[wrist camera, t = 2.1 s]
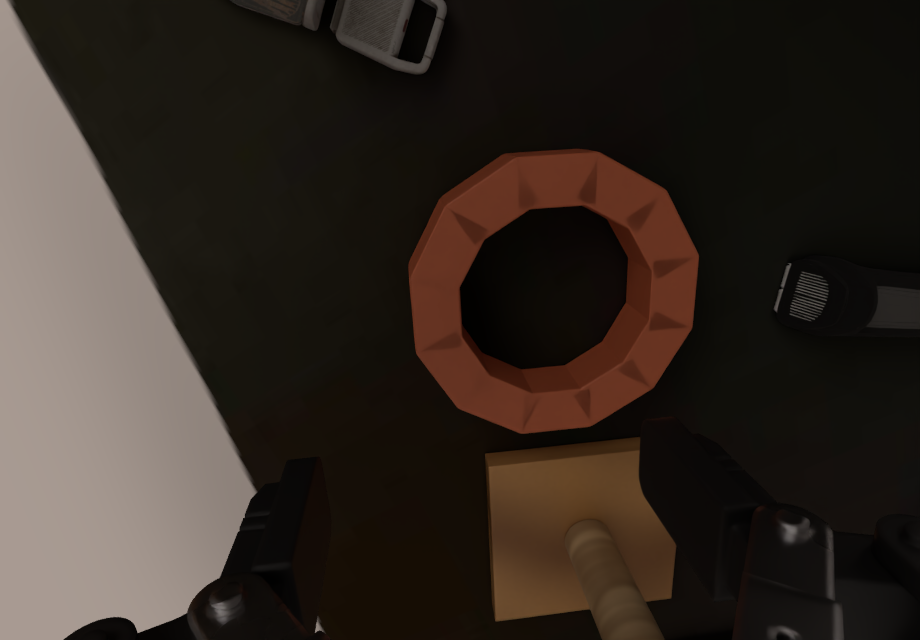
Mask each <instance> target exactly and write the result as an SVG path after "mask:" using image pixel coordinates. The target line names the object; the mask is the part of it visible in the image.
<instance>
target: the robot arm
mask: <svg viewBox="0 0 920 640" xmlns="http://www.w3.org/2000/svg"><path fill="white" fill-rule="evenodd" d="M639 482H640V486H641V490H642V493H643V495H644V497H645V499H646V500H647V502H648V503H649V505H650V506H651V508H652V509H653V511H654V512H655V514H656V515H657V517H658V518H659V520H660V521H661V523H662V524H663V526H664V527H665V529H666V530H667V532H668V533H669V535H670V536H671V538H672V539H673V541H674V542H675V544H676V545H677V547H678V548H679V550H680V551H681V553H682V554H683V556H684V557H685V559H686V560H687V562H688V563H689V565H690V566H691V568H692V569H693V571H694V572H695V574H696V575H697V577H698V578H699V580H700V581H701V583H702V584H703V586H704V587H705V589H706V590H707V592H708V593H709V595H710V596H711V598H712V599H713V601H714V602H719V601H726V600H733V599H736V601H737V602H738V604H737V610H736V616H735V622H734V629H733V635H732V640H920V518H919V517H915V516H910V515H902V514H893V515H887V516H884V517H882V518H880V519H879V520H878V522H877V524H876V529H875V533H874V535H864V534H855V533H845V532H836V531H831V529H830V527H829V526H828V525H827V524H826V523H825V522H824V521H823V520H822V519H821V518H820V517H818V516H817V515H815V514H813V513H812V512H810V511H808V510H805V509H803V508H800V507H797V506H794V505H789V504H782V503H777V502H776V501H775V500H774V499H773V498H772V497H771V496H770V495H769V494H768V493H767V492H766V491H765V490H764V489H763V488H762V487H761V486H760V485H759V484H758V483H757V482H756V481H755V480H754V479H753V478H752V477H751V476H750V475H749V474H748V473H747V472H746V471H745V470H742V467H741V466H740V465H739V464H738V463H737V462H736V461H735V460H734V459H731V456H730V455H729V454H728V453H727V452H726V451H725V450H724V449H723V448H722V447H721V446H719V445H718V444H717V443H715V442H713V441H711V440H710V439H708V438H706V437H704V436H702V435H700V434H691V433H690V432H689V431H688V429H687V428H686V427H685V426H684V425H683V424H682V423H681V422H680V421H679V420H678V419H677V418H675V417H665V418H657V419H648V420H644V421H643V422H642V425H641V433H640V453H639ZM330 537H331V514H330V507H329V501H328V496H327V490H326V484H325V479H324V473H323V467H322V462H321V459H320V457H311V458H302V459H294V460H288V461H287V462H286V465H285V468H284V471H283V474H282V477H281V480H280V482H278V483H270V484H265V485H264V486H263V487H262V488H261V489H260V490H259V491H258V492H257V493H256V494H255V495H254V497H253V498H252V499H251V500H250V503H249V505H248V508H247V511H246V513H245V518H243V521H242V523H241V526H240V531H239V532H238V533H237V536H236V539H235V541H234V544H233V546H232V549H231V551H230V554H229V556H228V559H227V561H226V564H225V566H224V569H223V571H222V574H221V576H220V578H219V579H217V580H215V581H213V582H212V583H210V584H208V585H207V586H206V587H204V588H203V589H202V590H201V591H200V592H199V593H198V594H197V595H196V596H195V598H194V599H193V600H192V602H191V604H190V606H189V608H188V612H187V613H186V614H185V615H183V616H181V617H179V618H176V619H174V620H172V621H169V622H166V623H164V624H161V625H159V626H156V627H153V628H151V629H148V630H145V631H143V632H140V633H137V630H136V628H135V625H134V624H133V623H132V622H131V621H130V620H128V619H126V618H121V617H113V618H106V619H102V620H98V621H95V622H92V623H90V624H88V625H86V626H84V627H82V628H80V629H78V630H77V631H75V632H73V633H72V634H70V635H69V636H68V637H67V638H65V639H64V640H331V639H330V638H329V637H328V636H327V635H326V634H325V633H324V632H322V631H317V632H316V633H315V628H316V622H317V616H318V610H319V604H320V598H321V592H322V586H323V580H324V573H325V567H326V561H327V555H328V549H329V543H330Z"/></svg>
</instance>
